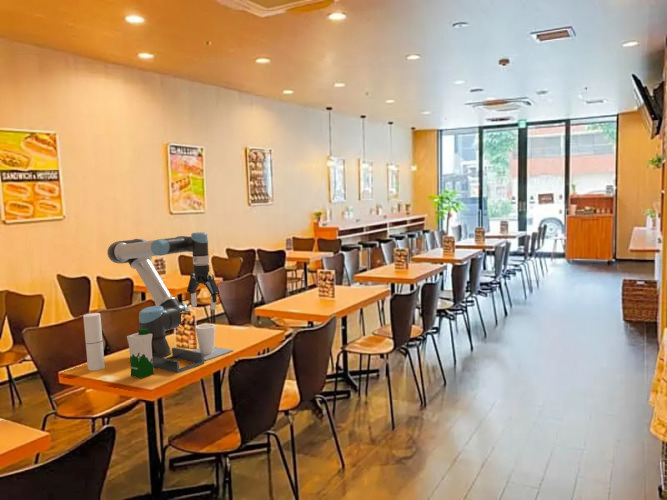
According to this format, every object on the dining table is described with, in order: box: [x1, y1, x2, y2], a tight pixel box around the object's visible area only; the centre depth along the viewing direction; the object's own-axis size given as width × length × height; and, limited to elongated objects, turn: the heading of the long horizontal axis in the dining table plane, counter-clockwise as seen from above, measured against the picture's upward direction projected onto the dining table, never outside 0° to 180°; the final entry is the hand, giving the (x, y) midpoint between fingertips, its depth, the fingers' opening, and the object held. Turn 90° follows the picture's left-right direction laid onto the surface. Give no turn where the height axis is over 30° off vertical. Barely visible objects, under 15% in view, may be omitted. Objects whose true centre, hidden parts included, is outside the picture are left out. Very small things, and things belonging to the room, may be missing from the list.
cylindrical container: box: [82, 312, 106, 372], centre depth 261 cm, size 7×7×25 cm
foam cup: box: [195, 323, 217, 354], centre depth 279 cm, size 10×9×13 cm
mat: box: [192, 346, 234, 362], centre depth 280 cm, size 18×18×1 cm
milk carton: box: [126, 328, 155, 379], centre depth 249 cm, size 9×9×20 cm
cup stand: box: [152, 347, 205, 374], centre depth 262 cm, size 20×15×5 cm
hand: (203, 307), depth 277 cm, fingers open, 13 cm apart
